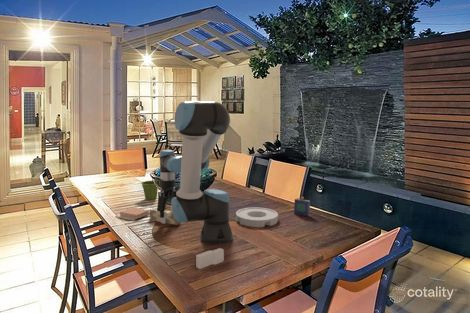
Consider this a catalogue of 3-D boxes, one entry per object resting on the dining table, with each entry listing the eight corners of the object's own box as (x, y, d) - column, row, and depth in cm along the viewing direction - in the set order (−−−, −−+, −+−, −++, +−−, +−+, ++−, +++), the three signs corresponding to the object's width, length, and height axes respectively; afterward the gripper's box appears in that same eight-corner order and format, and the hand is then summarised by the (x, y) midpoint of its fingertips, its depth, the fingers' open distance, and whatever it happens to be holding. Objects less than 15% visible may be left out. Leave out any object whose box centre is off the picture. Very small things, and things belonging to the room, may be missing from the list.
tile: (148, 210, 200) (132, 207, 205) (136, 215, 191) (120, 212, 196) (148, 214, 200) (132, 211, 205) (137, 219, 191) (120, 216, 196)
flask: (310, 215, 202) (310, 197, 201) (308, 216, 200) (309, 198, 198) (294, 213, 207) (295, 195, 205) (293, 214, 204) (293, 196, 203)
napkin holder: (192, 272, 133) (192, 258, 133) (192, 259, 145) (192, 246, 144) (232, 271, 135) (232, 257, 134) (229, 258, 146) (229, 245, 146)
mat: (152, 212, 205) (152, 211, 205) (133, 220, 191) (133, 219, 191) (134, 209, 211) (134, 208, 211) (115, 216, 196) (115, 215, 196)
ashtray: (272, 230, 179) (272, 222, 179) (229, 224, 187) (229, 217, 186) (281, 216, 201) (281, 209, 201) (243, 212, 209) (243, 205, 208)
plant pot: (145, 196, 241) (145, 180, 239) (162, 197, 239) (162, 180, 238) (138, 200, 229) (138, 184, 228) (156, 201, 228) (155, 184, 226)
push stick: (180, 223, 188) (180, 212, 187) (177, 225, 185) (177, 214, 184) (153, 218, 195) (152, 208, 194) (149, 220, 192) (149, 209, 191)
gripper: (173, 175, 196) (174, 214, 200) (148, 182, 177) (150, 225, 181) (184, 176, 193) (185, 216, 197) (161, 184, 174) (162, 227, 177)
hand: (168, 220), depth 189 cm, fingers open, 8 cm apart
